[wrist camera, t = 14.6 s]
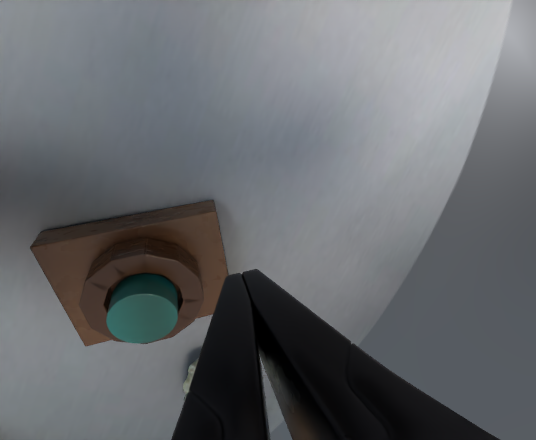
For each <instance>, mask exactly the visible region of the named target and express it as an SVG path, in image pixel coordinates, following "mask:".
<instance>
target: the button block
mask: <svg viewBox="0 0 536 440" xmlns="http://www.w3.org/2000/svg"><path fill="white" fill-rule="evenodd" d="M30 249H31V251H32V252H33V254H34V256H35V258H36V259H37V261H38V263H39V265H40V267H41V268H42V270H43V272H44V274H45V275H46V277H47V279H48V281H49V283H50V284H51V286H52V288H53V290H54V291H55V293H56V295H57V297H58V299H59V300H60V302H61V304H62V306H63V307H64V309H65V311H66V313H67V315H68V316H69V318H70V320H71V322H72V323H73V325H74V327H75V329H76V331H77V332H78V334H79V336H80V338H81V339H82V341H83V343H84V345H85V346H89V345H93V344H97V343H101V342H105V341H109V340H114V341H118V342H126V341H123V340H120V339H118V338H117V337H115V336H114V335H113V334H112V333H111V332H110V331H109V329H108V327H107V323H106V317H107V313H108V309H109V304H110V300H111V296H112V293H113V290H114V289H115V287H116V286H117V285H118V284H119V283H120V282H121V281H123V280H124V279H126V278H128V277H130V276H133V275H137V274H145V273H146V274H156V275H159V276H162V277H164V278H166V279H168V280H169V281H170V282H171V283H172V284H173V285H174V287H175V288H176V291H177V296H178V320H177V323H176V325H175V327H174V328H173V330H172V331H171V332H170V333H169V334H167V335H166V336H164V337H163V338H161V339H159V340H163V339H167V338H171V337H173V336H175V335H176V334H177V333H179V332H180V331H181V330H183V329H184V328H186V327H187V326H188V325H190V324H191V323H192V322H194V321H195V319H196V318H200V317H204V316H208V315H212V314H213V313H214V310H215V307H216V304H217V301H218V298H219V295H220V292H221V289H222V286H223V283H224V279H225V277H226V276H228V271H227V265H226V260H225V255H224V249H223V244H222V238H221V233H220V228H219V222H218V217H217V212H216V208H215V204H214V201H213V200H210V201H204V202H199V203H194V204H188V205H183V206H178V207H172V208H167V209H161V210H156V211H151V212H145V213H140V214H135V215H129V216H124V217H118V218H113V219H108V220H102V221H97V222H91V223H86V224H81V225H75V226H70V227H65V228H59V229H54V230H48V231H43V232H40V234H39V235H38V237H37V238H36V239H35V241H34V242H33V244H32V245H31V246H30ZM159 340H156V341H159ZM153 342H155V341H153ZM129 343H130V342H129ZM149 343H151V342H149ZM139 344H148V343H139Z"/></svg>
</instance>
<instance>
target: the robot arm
mask: <svg viewBox="0 0 536 440" xmlns="http://www.w3.org/2000/svg"><path fill="white" fill-rule="evenodd" d="M259 353H260V355H259ZM260 357H261V360H262V362H263V365H264V368H265V370H266V373H267V376H268V378H269V381H270V383H271V386H272V388H273V391H274V393H275V396H276V399H277V401H278V404H279V406H280V409H281V411H282V414H283V416H284V419H285V422H286V424H287V426H288V429H289V432H290V434H291V437H292V439H293V440H500V439H498V438H496V437H495V436H493V435H491V434H489V433H488V432H486V431H484V430H483V429H481V428H479V427H478V426H476V425H475V424H473V423H472V422H470V421H468V420H467V419H465V418H464V417H462V416H460V415H459V414H457V413H455V412H454V411H452V410H451V409H449V408H448V407H446V406H444V405H443V404H441V403H440V402H438V401H436V400H435V399H433V398H432V397H430V396H429V395H427V394H425V393H424V392H422V391H420V390H419V389H417V388H416V387H414V386H413V385H411V384H410V383H408V382H406V381H405V380H404V379H402V378H401V377H399V376H397V375H396V374H395V373H393V372H392V371H390V370H388V369H387V368H386V367H384V366H383V365H382V364H380V363H379V362H377V361H376V360H375V359H373V358H372V357H371V356H369V355H368V354H367V353H365V352H364V351H363V350H361V349H360V348H359V347H358V346H356V345H355V344H351V341H350V340H348V339H347V338H346V337H345V336H343V335H342V334H341V333H339V332H338V331H337V330H335V329H334V328H333V327H332V326H330V325H329V324H328V323H326V322H325V321H324V320H323V319H321V318H320V317H319V316H317V315H316V314H315V313H313V312H312V311H311V310H310V309H308V308H307V307H306V306H304V305H303V304H302V303H301V302H299V301H298V300H297V299H295V298H294V297H293V296H292V295H290V294H289V293H288V292H286V291H285V290H284V289H282V288H281V287H280V286H279V285H277V284H276V283H275V282H273V281H272V280H271V279H270V278H268V277H267V276H266V275H264V274H263V273H262V272H260V271H259V270H257V269H254V270H249V271H245V272H243V273H242V274H241V273H237V274H232V275H228V276H226V277H225V279H224V283H223V286H222V289H221V292H220V295H219V298H218V301H217V304H216V307H215V310H214V313H213V316H212V319H211V322H210V326H209V329H208V332H207V335H206V338H205V341H204V344H203V347H202V350H201V353H200V356H199V359H198V362H197V365H196V369H195V372H194V375H193V378H192V381H191V384H190V387H189V392H188V393H187V396H186V399H185V402H184V405H183V408H182V411H181V414H180V417H179V419H178V422H177V425H176V428H175V430H174V433H173V436H172V439H171V440H270V433H269V425H268V417H267V409H266V401H265V393H264V385H263V377H262V369H261V362H260Z"/></svg>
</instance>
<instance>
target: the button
mask: <svg viewBox="0 0 536 440" xmlns="http://www.w3.org/2000/svg"><path fill="white" fill-rule="evenodd" d="M177 320H178V296H177V291H176V288H175V287H174V285H173V284H172V283H171V282H170V281H169V280H168V279H166V278H164V277H162V276H159V275H156V274H146V273H145V274H137V275H133V276H130V277H128V278H126V279H124V280H123V281H121V282H120V283H119V284H118V285H117V286H116V287H115V289H114V290H113V293H112V296H111V300H110V304H109V309H108V313H107V317H106V323H107V327H108V329H109V331H110V332H111V333H112V334H113V335H114V336H115V337H117V338H118V339H120V340H123V341H126V342H130V343H149V342H153V341H156V340H159V339H161V338H163V337H164V336H166V335H167V334H169V333H170V332H171V331H172V330H173V328H174V327H175V325H176V323H177Z"/></svg>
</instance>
